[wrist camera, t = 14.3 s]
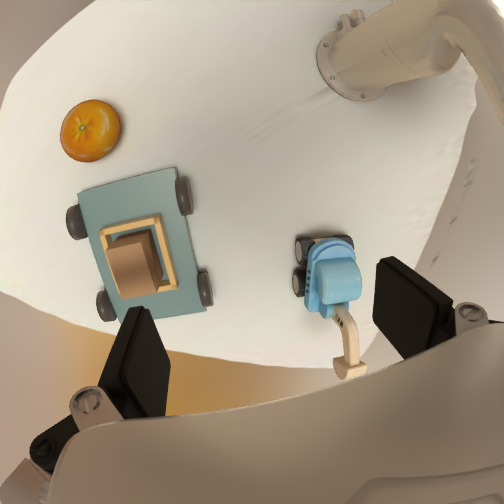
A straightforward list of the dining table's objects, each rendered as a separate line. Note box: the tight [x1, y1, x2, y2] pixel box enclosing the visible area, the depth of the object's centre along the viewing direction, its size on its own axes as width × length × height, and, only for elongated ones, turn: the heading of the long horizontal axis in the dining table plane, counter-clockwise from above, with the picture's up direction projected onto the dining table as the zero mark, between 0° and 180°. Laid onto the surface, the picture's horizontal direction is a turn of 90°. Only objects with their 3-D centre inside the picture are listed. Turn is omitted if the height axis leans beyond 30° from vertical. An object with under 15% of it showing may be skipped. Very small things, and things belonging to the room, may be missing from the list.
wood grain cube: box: [105, 228, 164, 299], centre depth 35 cm, size 7×5×6 cm
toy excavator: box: [293, 235, 367, 380], centre depth 38 cm, size 9×17×17 cm, turn 1°
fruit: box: [60, 100, 120, 162], centre depth 30 cm, size 8×8×8 cm
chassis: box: [66, 167, 213, 324], centre depth 38 cm, size 22×18×5 cm
